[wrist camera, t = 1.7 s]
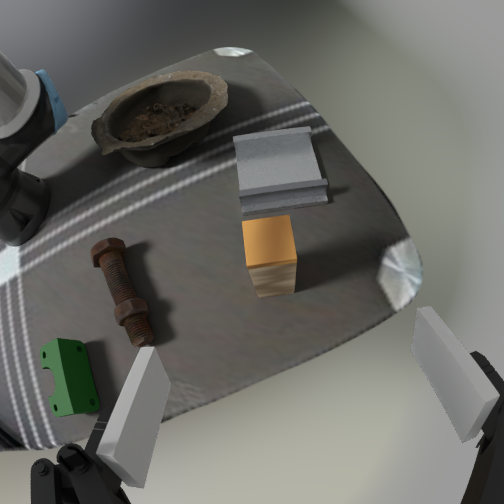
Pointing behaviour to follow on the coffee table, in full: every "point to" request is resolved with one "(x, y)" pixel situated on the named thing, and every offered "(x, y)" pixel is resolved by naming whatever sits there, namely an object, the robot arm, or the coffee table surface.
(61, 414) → the green notched mounting bracket
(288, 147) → the keeper bracket
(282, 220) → the block
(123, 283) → the bolt
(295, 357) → the coffee table surface
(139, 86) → the stone bowl
